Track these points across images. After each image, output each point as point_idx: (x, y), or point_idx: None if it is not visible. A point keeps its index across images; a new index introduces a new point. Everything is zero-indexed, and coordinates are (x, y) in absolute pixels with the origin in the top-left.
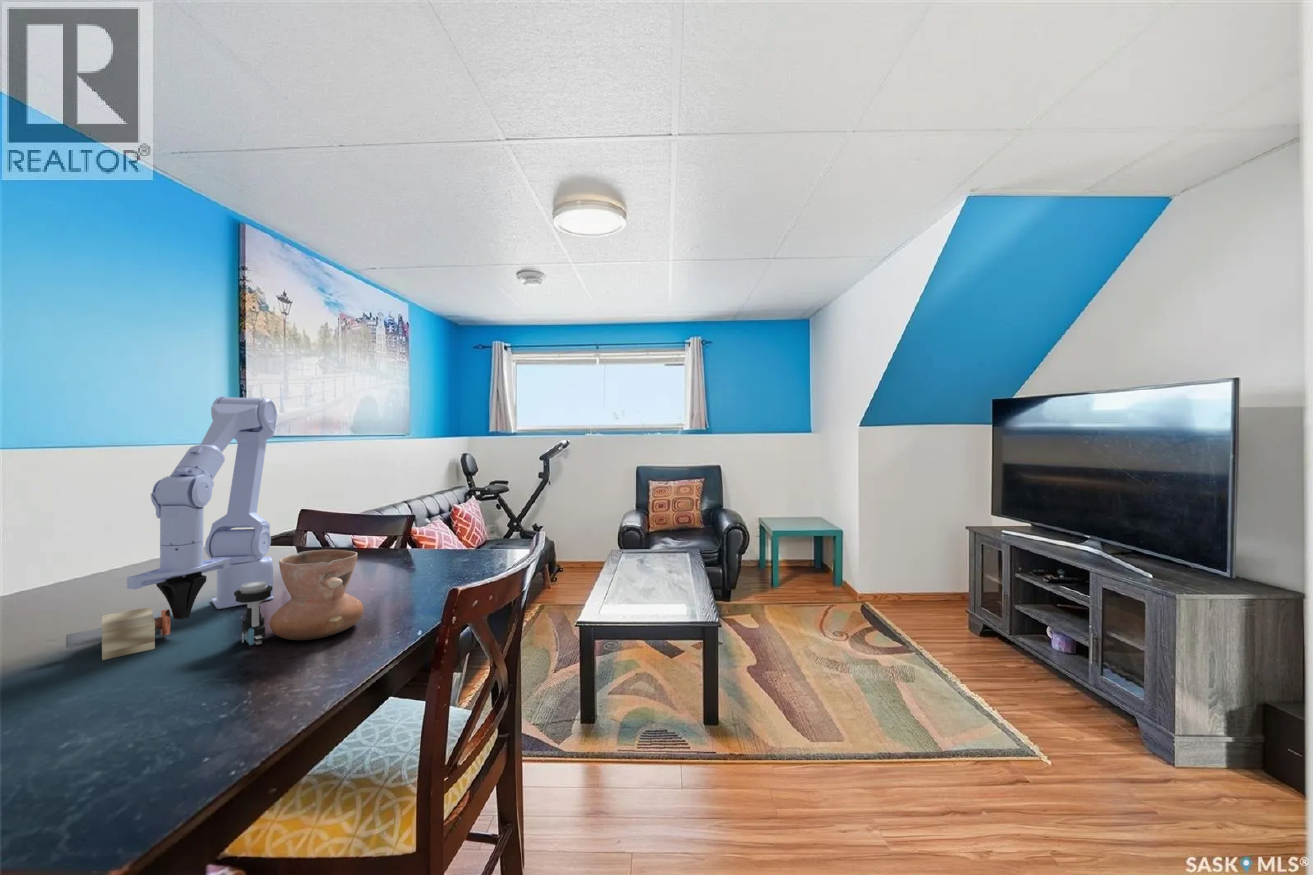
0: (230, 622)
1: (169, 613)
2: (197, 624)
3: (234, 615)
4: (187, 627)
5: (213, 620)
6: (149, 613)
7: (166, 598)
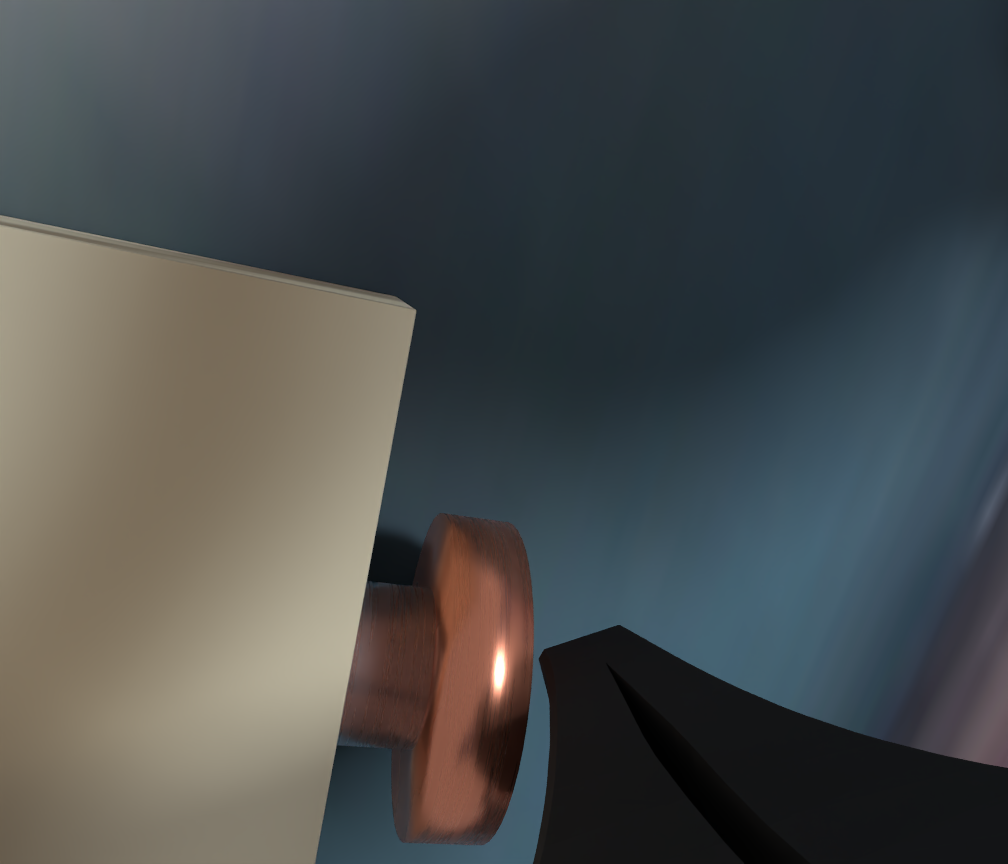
0: (880, 587)
1: (486, 838)
2: (725, 408)
3: (989, 403)
4: (645, 428)
5: (843, 402)
6: (316, 676)
7: (543, 835)
